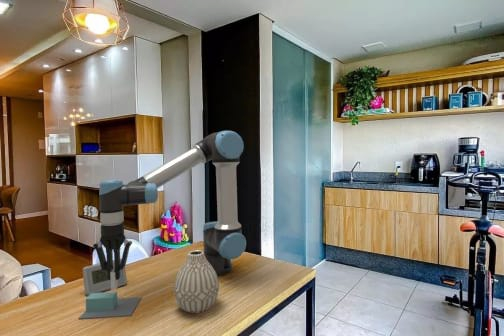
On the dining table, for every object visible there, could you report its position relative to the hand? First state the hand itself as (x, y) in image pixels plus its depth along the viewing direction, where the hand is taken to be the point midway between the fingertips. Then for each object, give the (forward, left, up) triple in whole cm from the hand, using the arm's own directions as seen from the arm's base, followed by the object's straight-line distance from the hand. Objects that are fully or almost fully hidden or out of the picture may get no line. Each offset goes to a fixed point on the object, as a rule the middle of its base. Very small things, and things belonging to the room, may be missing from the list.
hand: (114, 288), depth 107 cm
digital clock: (+10, -17, -8) cm, 21 cm away
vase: (-30, +3, -7) cm, 31 cm away
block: (0, 0, -5) cm, 5 cm away
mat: (+1, 0, -7) cm, 7 cm away
